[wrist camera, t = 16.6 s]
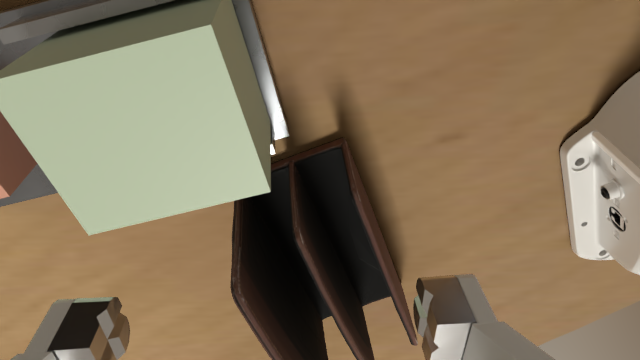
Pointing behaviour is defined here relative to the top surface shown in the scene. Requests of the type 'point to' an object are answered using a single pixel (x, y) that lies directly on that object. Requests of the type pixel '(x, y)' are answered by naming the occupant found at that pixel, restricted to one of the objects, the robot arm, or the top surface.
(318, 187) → the letter holder
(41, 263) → the top surface
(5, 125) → the block
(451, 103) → the top surface
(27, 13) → the tray
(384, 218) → the top surface
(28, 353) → the robot arm
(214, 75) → the pale green block
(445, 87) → the top surface
